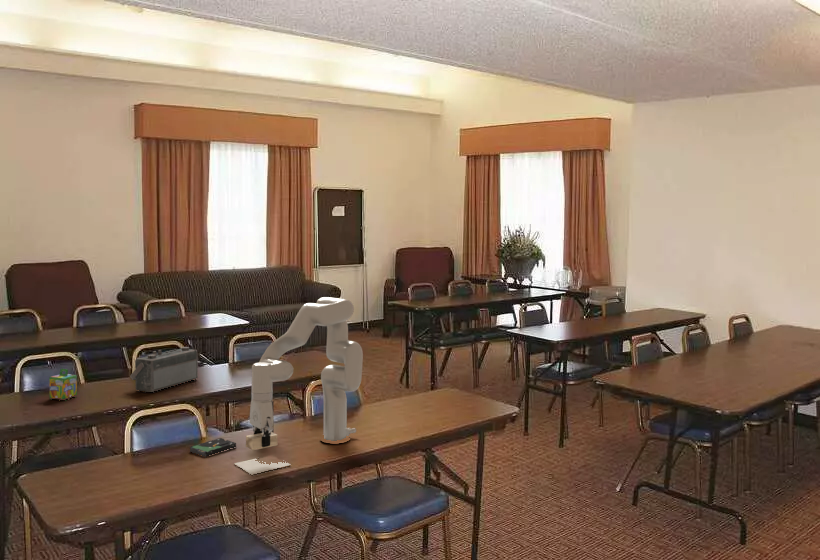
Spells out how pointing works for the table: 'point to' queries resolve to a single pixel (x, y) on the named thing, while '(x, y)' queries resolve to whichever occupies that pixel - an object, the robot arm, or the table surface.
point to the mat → (259, 466)
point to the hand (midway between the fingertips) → (261, 443)
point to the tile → (259, 441)
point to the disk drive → (212, 447)
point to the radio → (165, 369)
